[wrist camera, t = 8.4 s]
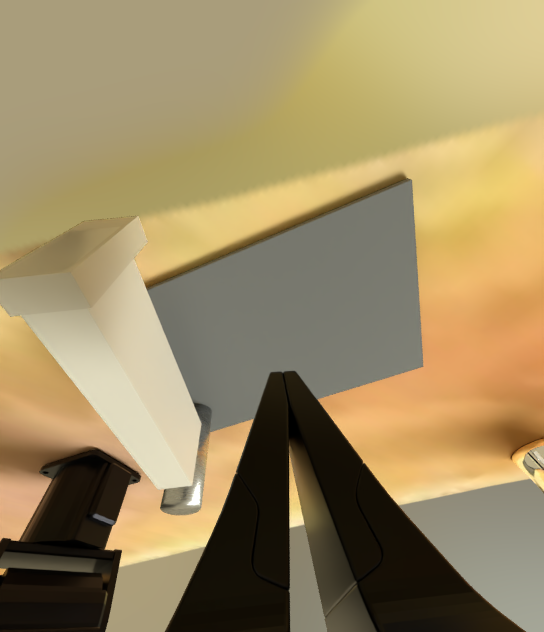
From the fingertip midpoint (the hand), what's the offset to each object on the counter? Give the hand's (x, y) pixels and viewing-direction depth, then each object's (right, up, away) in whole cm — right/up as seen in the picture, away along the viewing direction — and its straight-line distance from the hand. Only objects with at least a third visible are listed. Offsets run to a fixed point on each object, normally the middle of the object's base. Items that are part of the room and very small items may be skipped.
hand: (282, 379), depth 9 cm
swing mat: (-1, 0, +9) cm, 10 cm away
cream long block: (-7, +1, +7) cm, 10 cm away
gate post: (-6, -6, +13) cm, 16 cm away
